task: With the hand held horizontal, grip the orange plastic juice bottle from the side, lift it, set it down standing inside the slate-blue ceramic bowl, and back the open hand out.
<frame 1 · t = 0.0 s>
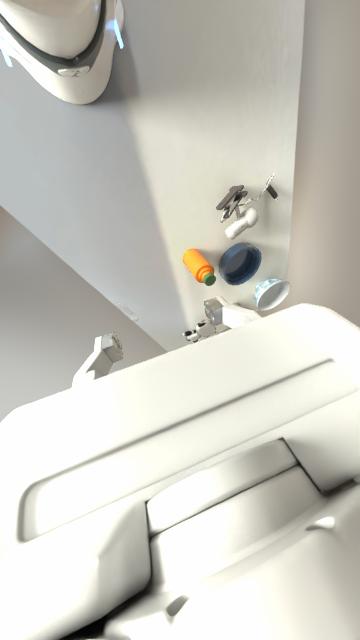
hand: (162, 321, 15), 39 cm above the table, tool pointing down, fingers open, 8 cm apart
bowl: (235, 261, 62), on the table
clip-on lamp: (243, 202, 49), on the table
juice bottle: (190, 257, 55), on the table
robot toy: (197, 328, 82), on the table
chinaware: (261, 286, 76), on the table
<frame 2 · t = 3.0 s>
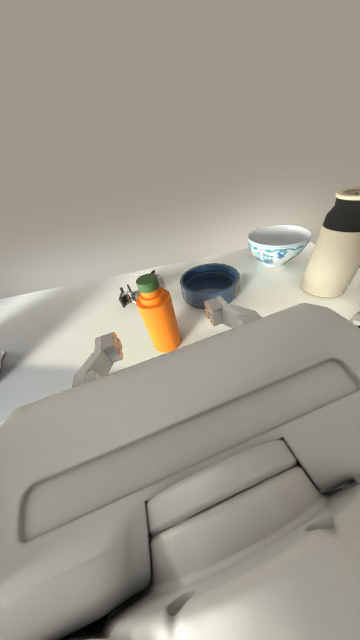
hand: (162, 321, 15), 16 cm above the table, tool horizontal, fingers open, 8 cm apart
bowl: (209, 292, 44), on the table
clip-on lamp: (146, 293, 50), on the table
juice bottle: (167, 341, 35), on the table
travel mug: (320, 288, 39), on the table
chinaware: (271, 262, 50), on the table
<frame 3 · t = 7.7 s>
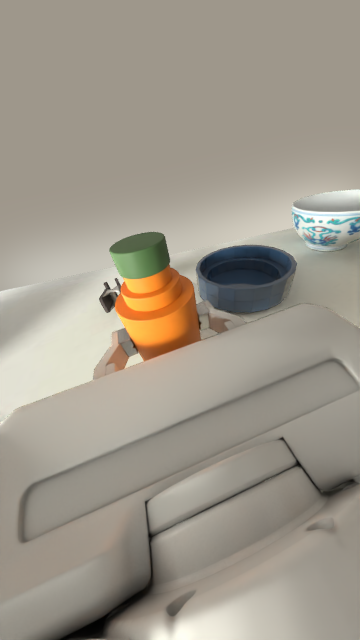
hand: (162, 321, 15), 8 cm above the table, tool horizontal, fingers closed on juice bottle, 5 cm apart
bowl: (240, 287, 29), on the table
clip-on lamp: (144, 290, 34), on the table
juice bottle: (180, 373, 19), on the table, touching gripper
chinaware: (324, 245, 35), on the table
when the fingers open (8 cm above the table, at t = 15.1 s): juice bottle stays where it is, resting on bowl.
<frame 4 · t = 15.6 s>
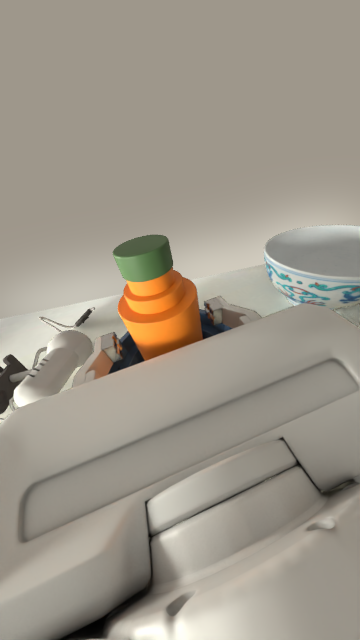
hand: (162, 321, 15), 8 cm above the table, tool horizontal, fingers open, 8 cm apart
bowl: (181, 377, 20), on the table
clip-on lamp: (62, 361, 25), on the table
juice bottle: (182, 375, 19), point 1 cm above the table, touching bowl
chinaware: (310, 298, 26), on the table
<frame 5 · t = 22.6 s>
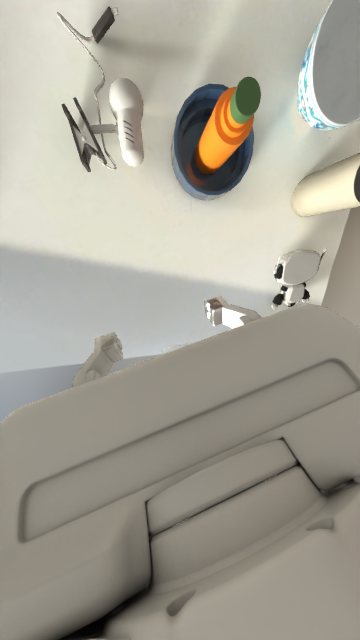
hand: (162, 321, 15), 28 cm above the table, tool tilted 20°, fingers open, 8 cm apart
bowl: (206, 157, 33), on the table
clip-on lamp: (107, 111, 29), on the table
juice bottle: (208, 156, 33), point 1 cm above the table, touching bowl
robot toy: (286, 278, 47), on the table
travel mug: (306, 196, 39), on the table
chinaware: (312, 97, 32), on the table
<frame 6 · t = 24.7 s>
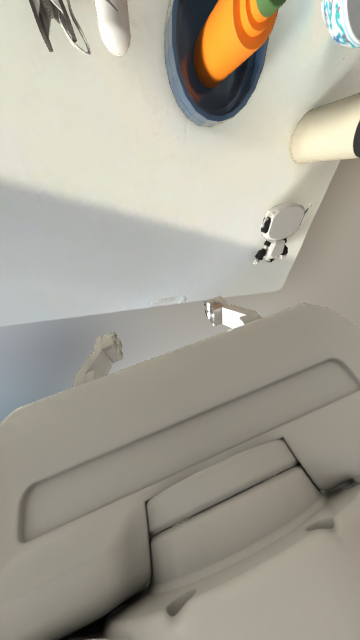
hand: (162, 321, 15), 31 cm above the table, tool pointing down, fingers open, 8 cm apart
bowl: (208, 58, 26), on the table
juice bottle: (210, 58, 26), point 1 cm above the table, touching bowl
robot toy: (270, 233, 48), on the table
travel mug: (305, 138, 37), on the table
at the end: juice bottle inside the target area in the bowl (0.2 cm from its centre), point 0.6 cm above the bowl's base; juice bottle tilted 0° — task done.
